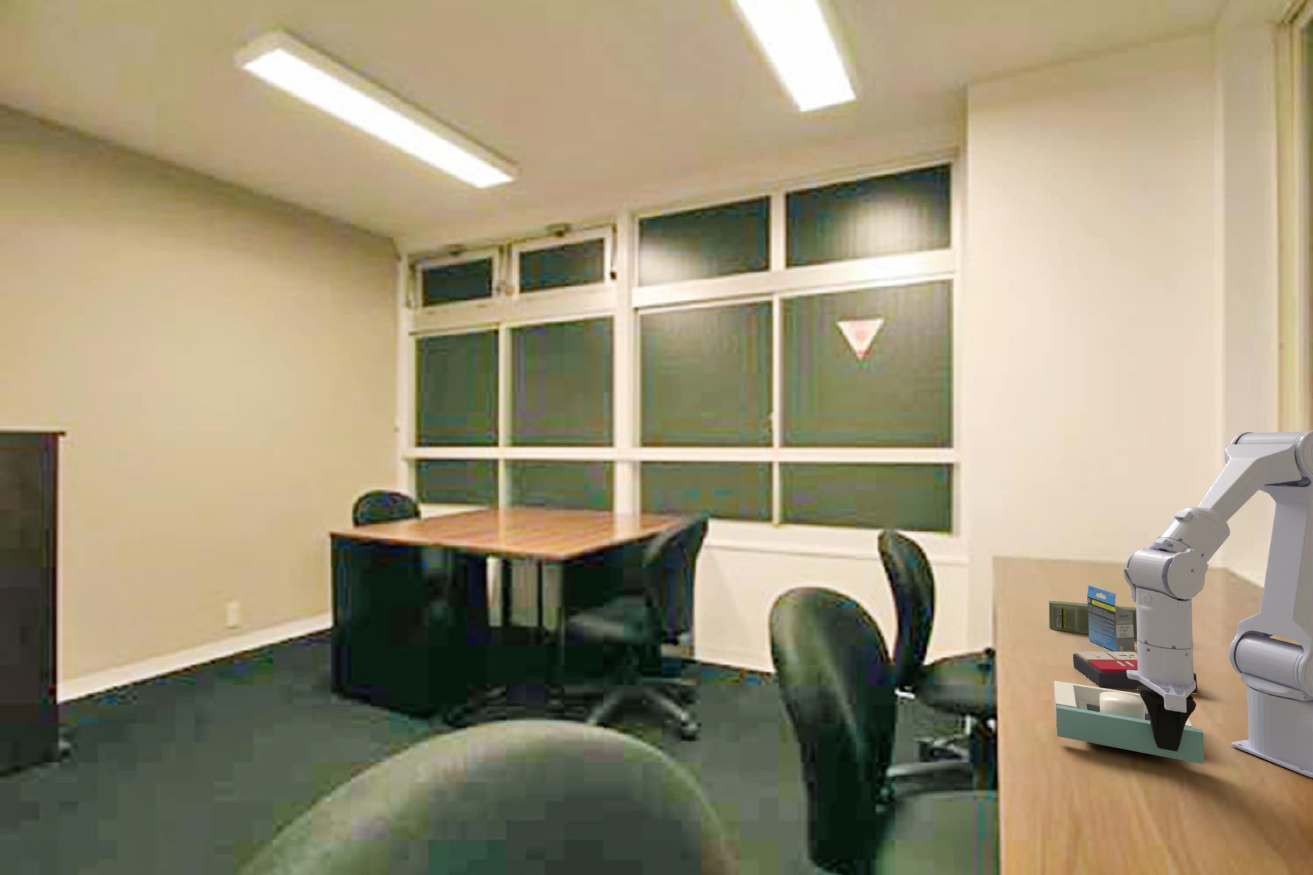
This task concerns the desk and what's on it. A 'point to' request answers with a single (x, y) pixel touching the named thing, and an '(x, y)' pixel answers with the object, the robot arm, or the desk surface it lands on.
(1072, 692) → the dock
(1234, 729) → the desk surface
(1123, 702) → the white dome-topped cylinder
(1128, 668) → the calculator
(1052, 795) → the desk surface
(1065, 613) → the handheld radio
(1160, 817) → the desk surface
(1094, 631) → the label tape box
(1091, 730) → the tray
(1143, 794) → the desk surface
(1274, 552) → the robot arm
